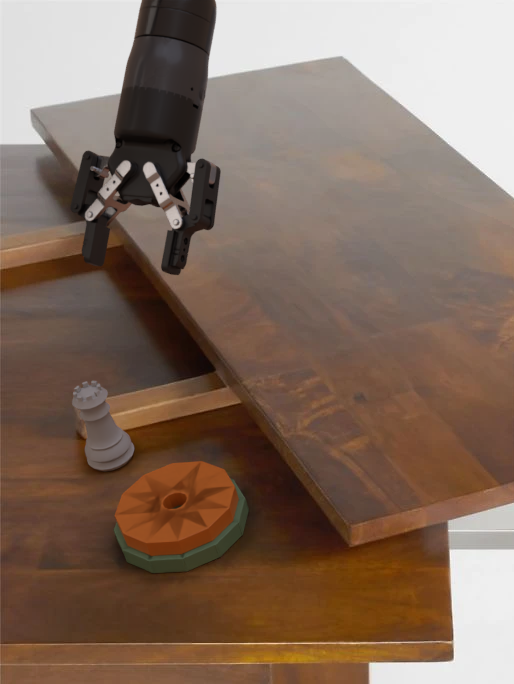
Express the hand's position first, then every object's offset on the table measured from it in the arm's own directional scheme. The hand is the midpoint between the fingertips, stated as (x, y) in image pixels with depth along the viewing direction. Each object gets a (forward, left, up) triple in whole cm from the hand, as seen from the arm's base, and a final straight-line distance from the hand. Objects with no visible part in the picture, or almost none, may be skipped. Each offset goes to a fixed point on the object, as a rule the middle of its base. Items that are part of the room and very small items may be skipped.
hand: (131, 268), depth 126 cm
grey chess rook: (-3, -10, -14) cm, 18 cm away
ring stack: (+6, -20, -14) cm, 25 cm away
